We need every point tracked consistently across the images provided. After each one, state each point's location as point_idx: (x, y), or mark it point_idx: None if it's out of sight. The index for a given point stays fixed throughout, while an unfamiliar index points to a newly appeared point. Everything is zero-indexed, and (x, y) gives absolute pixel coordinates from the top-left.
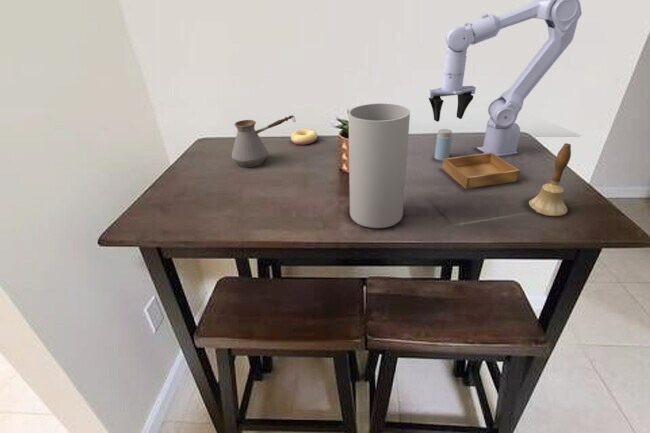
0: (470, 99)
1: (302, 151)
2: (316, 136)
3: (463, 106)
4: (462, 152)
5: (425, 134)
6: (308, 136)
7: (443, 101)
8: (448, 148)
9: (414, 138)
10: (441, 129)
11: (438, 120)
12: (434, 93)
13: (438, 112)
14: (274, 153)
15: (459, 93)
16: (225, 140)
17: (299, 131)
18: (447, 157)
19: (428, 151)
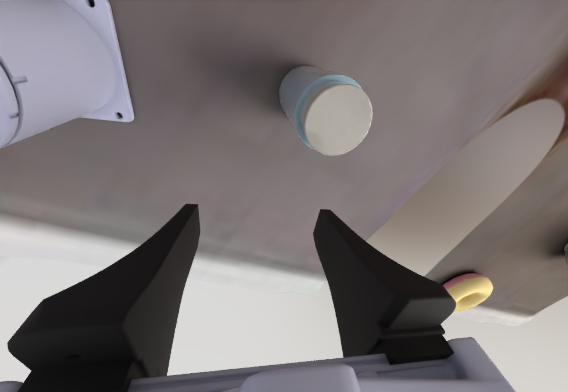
0: (79, 296)
1: (498, 252)
2: (453, 288)
3: (169, 254)
4: (202, 115)
5: (238, 260)
6: (478, 286)
7: (393, 292)
8: (314, 69)
9: (277, 248)
10: (337, 150)
11: (325, 211)
12: (479, 387)
13: (355, 238)
14: (532, 256)
15: (289, 378)
16: (522, 306)
17: (467, 305)
18: (303, 67)
19: (299, 166)
